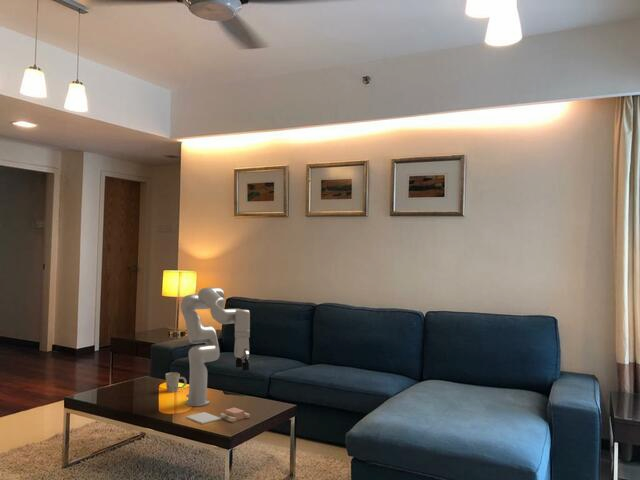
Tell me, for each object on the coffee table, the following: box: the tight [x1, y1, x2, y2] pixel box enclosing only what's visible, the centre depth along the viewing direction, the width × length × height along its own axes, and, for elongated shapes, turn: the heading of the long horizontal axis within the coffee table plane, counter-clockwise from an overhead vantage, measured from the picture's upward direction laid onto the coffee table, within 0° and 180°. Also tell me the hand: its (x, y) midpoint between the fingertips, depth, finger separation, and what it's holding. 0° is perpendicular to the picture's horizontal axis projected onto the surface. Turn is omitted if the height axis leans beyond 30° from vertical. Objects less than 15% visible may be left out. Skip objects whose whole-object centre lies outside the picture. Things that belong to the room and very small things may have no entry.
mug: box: [164, 371, 187, 393], centre depth 308 cm, size 8×13×10 cm, turn 96°
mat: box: [185, 411, 222, 425], centre depth 257 cm, size 14×11×1 cm
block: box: [224, 407, 246, 421], centre depth 260 cm, size 8×6×4 cm
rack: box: [218, 412, 251, 424], centre depth 260 cm, size 11×11×2 cm
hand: (242, 368), depth 258 cm, fingers open, 9 cm apart
